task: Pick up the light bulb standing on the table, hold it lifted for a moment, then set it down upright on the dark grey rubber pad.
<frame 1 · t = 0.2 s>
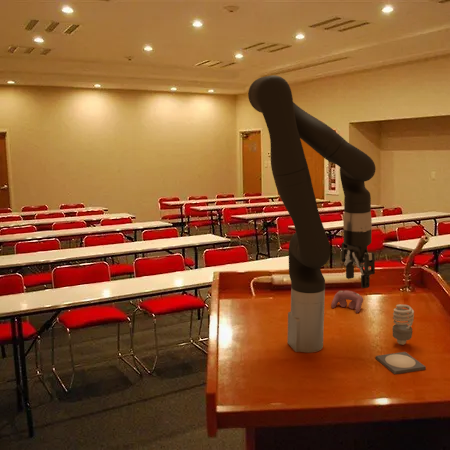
hand: (357, 282, 151), 17 cm above the table, tool pointing down, fingers open, 8 cm apart
light bulb: (401, 345, 151), on the table
video game controller: (346, 309, 179), on the table
pad: (400, 363, 140), on the table
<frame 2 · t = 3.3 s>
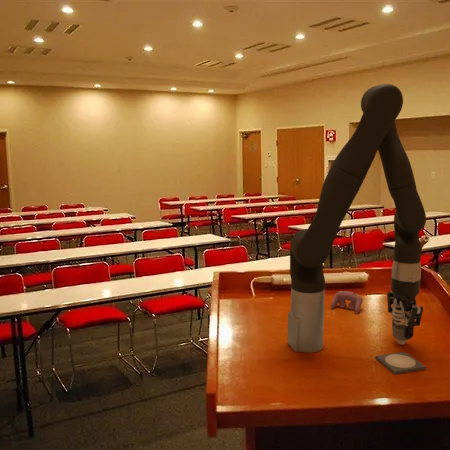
hand: (402, 333, 151), 3 cm above the table, tool pointing down, fingers closed on light bulb, 5 cm apart
light bulb: (401, 345, 151), on the table, touching gripper
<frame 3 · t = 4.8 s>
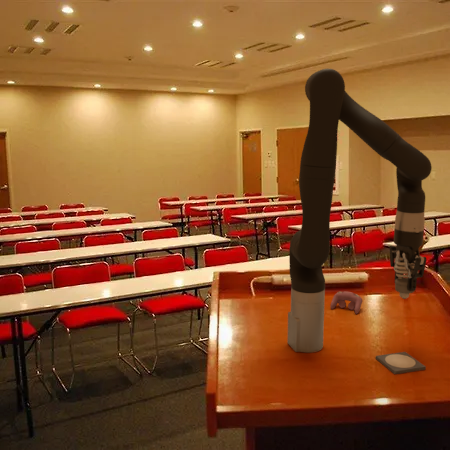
hand: (404, 286, 148), 17 cm above the table, tool pointing down, fingers closed on light bulb, 5 cm apart
light bulb: (403, 299, 148), point 14 cm above the table, touching gripper
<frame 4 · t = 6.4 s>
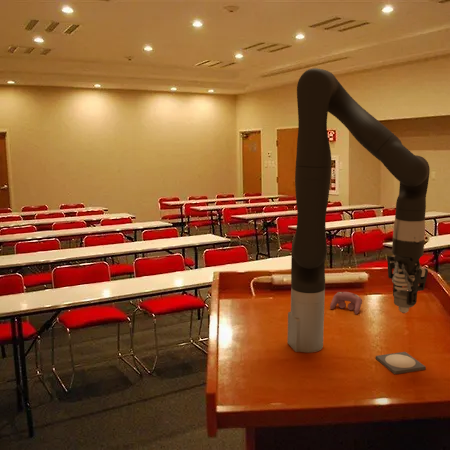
hand: (404, 300, 137), 17 cm above the table, tool pointing down, fingers closed on light bulb, 5 cm apart
light bulb: (403, 313, 138), point 14 cm above the table, touching gripper
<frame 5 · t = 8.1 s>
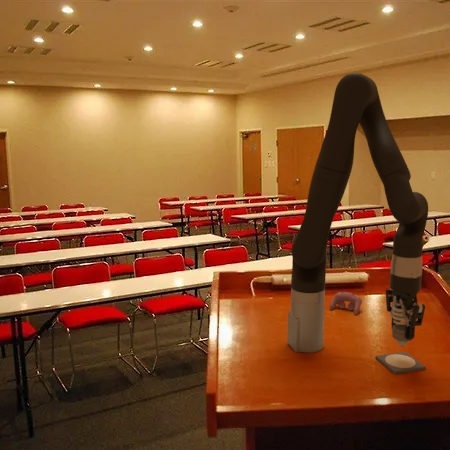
hand: (402, 333, 139), 8 cm above the table, tool pointing down, fingers closed on light bulb, 5 cm apart
light bulb: (402, 347, 139), point 5 cm above the table, touching gripper
when the fingers open (5 cm above the table, at t = 9.6 s): light bulb stays where it is, resting on pad.
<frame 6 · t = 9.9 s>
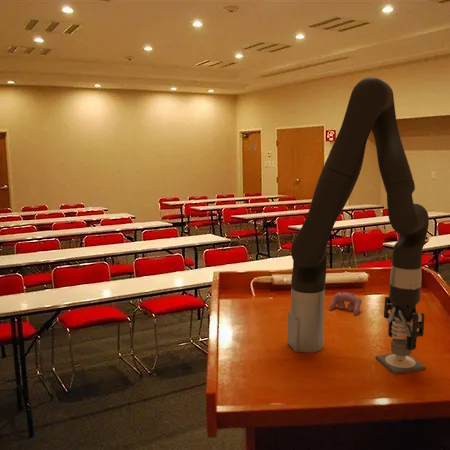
hand: (401, 342, 139), 6 cm above the table, tool pointing down, fingers open, 8 cm apart
light bulb: (400, 361, 140), point 1 cm above the table, touching pad
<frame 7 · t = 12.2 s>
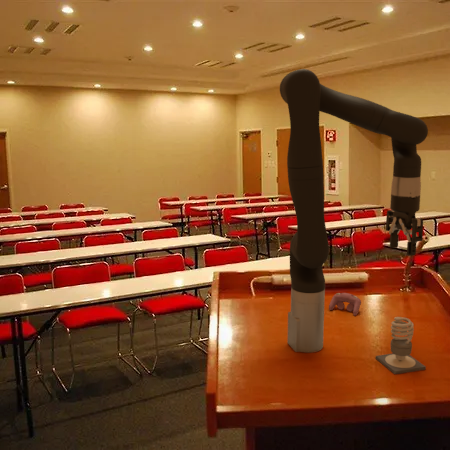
hand: (402, 251, 147), 27 cm above the table, tool pointing down, fingers open, 8 cm apart
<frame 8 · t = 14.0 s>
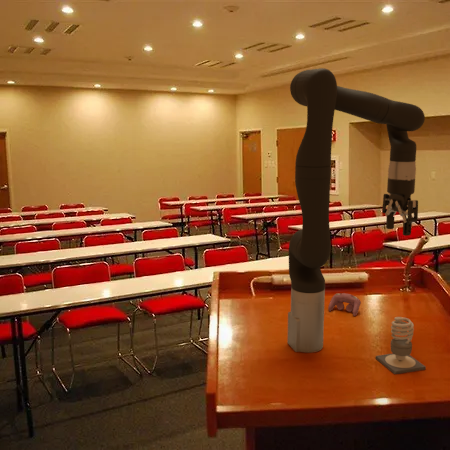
hand: (398, 232, 156), 30 cm above the table, tool pointing down, fingers open, 8 cm apart
at the end: light bulb inside the target area on the pad (0.1 cm from its centre), point 0.7 cm above the pad's base; light bulb tilted 0°; the gripper is holding nothing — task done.
